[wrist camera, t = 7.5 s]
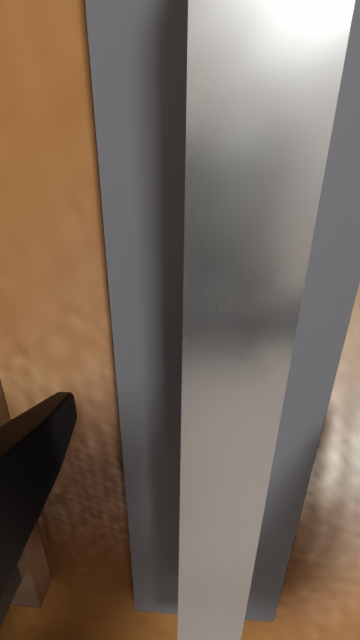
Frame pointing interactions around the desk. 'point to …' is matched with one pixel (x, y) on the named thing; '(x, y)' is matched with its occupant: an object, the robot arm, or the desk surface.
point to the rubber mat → (167, 289)
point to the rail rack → (26, 562)
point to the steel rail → (245, 271)
